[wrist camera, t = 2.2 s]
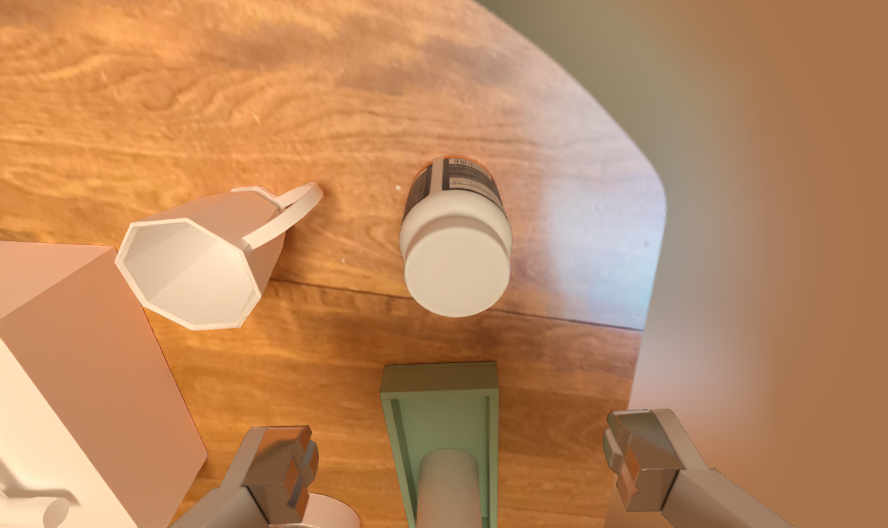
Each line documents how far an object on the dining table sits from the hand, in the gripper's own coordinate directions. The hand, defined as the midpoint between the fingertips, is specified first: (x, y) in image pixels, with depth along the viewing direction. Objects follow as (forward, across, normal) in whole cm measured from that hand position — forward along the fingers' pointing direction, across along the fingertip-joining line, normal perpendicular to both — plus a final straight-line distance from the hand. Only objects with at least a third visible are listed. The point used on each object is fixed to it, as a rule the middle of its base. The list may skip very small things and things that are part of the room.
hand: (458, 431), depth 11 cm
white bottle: (+17, +2, +29) cm, 34 cm away
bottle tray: (+17, +2, +28) cm, 33 cm away
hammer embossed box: (+18, +33, +14) cm, 40 cm away
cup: (+18, +12, 0) cm, 21 cm away
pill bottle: (+17, 0, 0) cm, 17 cm away
